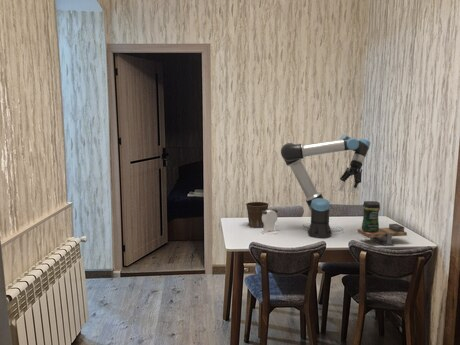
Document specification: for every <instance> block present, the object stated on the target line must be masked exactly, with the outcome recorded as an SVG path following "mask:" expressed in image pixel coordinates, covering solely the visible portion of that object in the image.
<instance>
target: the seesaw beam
mask: <svg viewBox="0 0 460 345" xmlns="http://www.w3.org/2000/svg"><path fill="white" fill-rule="evenodd" d="M387 233H392V237H407V236H408V235H407V234H408V232H406V231H405V226H403V225H401V224H399V223H389V224H388V227H382V228H381V227H379V231H378V232H366V231H363V230H362V228H358V229H357V234H359V235H361V236H363V237H365V238H367V239H370V238H375V237H386V234H387Z"/></svg>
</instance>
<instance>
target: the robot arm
mask: <svg viewBox="0 0 460 345" xmlns="http://www.w3.org/2000/svg"><path fill="white" fill-rule="evenodd" d="M370 146H371V141H370V140H368V139H365V138H359V140H358V139H357V138H356V137H350V136H347V135H344V134H342V135H341V136H340V137H339V139H334V140H327V141H321V142H315V143H307V144H302V143H298V144H295V143H292V142H287V143H285V144H283V145H282V146H281V148H280V156H281V158H282V159H283V160H284V163H285V165H286V166H287V167H290V169H291V171H292V173H293V174H294V177H295V178H296V180H297V183H298V184H299V186H300V188H301V190H302V191H303V194H304V196H305V199H304V201H305V202H306V205H307V206H308V208H309V210H310V224H309V227H308V229H307V235H308V236H309V237H311V238H315V239H316V238H317V239H318V238H319V239H327V238H331V237H332V229H331V227H330V207H331V205H330V201H329V200H328V199H327V198H324V197H323V195H322V193H321V192H319V191H318V190H317V188H316V186H315V184H314V183H313V181H312V178H311V175H310V174H309V173H308V171H307V168H306V167H305V165H304V163H303V161H302V160H304V159H305V157H311V156H318V155H325V154H330V153H336V152H337V153H338V152H344V151H353V152H354V153H353V155H352V157H351V160H350V164H349V166H350V167H346V169H345V171H344V172H343V174H342V175H341V176H340V178H339V180H341V181H340V183H339V186H338V191H340V192H343V190H344V187H345V184H346V181H347V180H348V179H349V178H350V177H351V176H353V178H354V179H353V180H354V181H353V183H352V185H351V188H350V190H349V191H350V193H353V194H354V193H355V192H356V189H357V188H358V185H359V184H362V175H363V174H362V172H363V169H362V167H363V164H364V162H365V158H366V156H367V154H368V151H369V149H370Z"/></svg>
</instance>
